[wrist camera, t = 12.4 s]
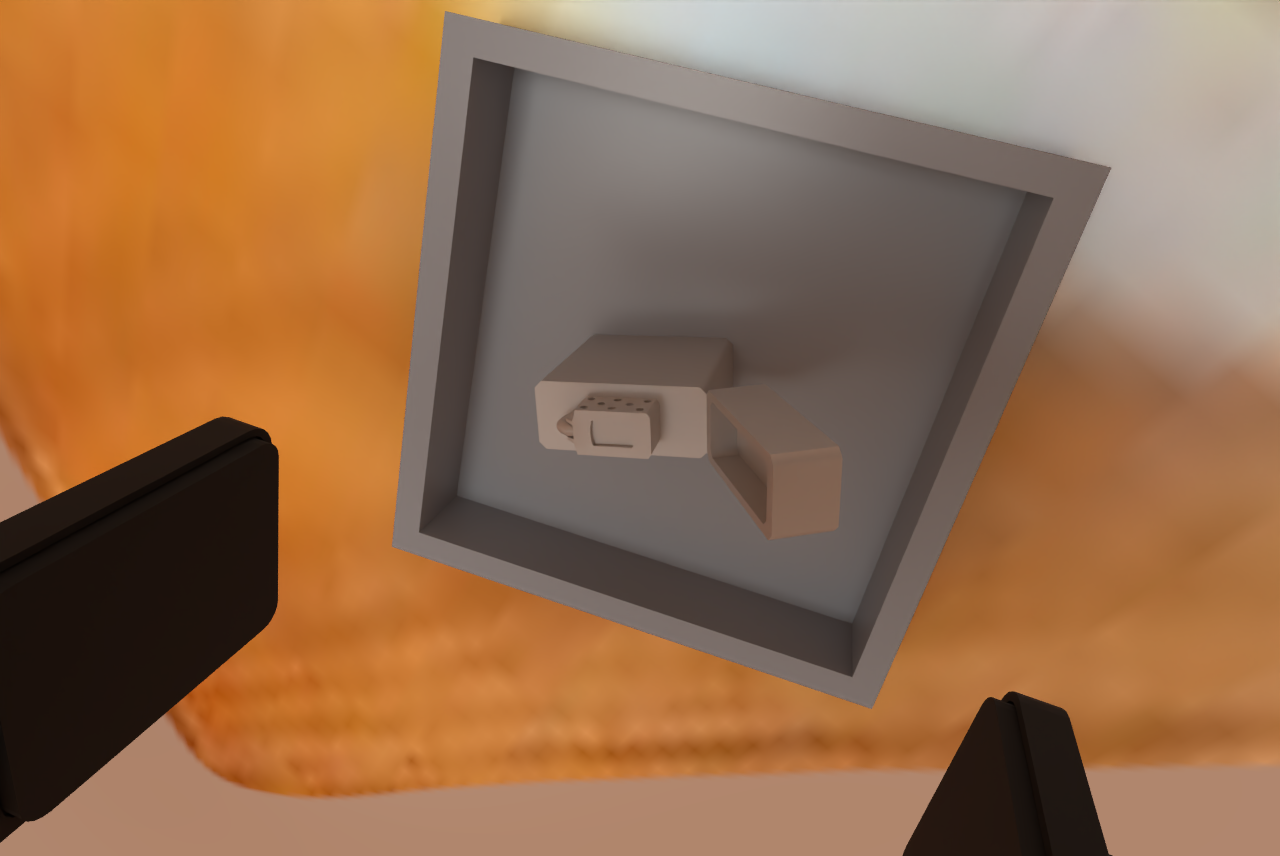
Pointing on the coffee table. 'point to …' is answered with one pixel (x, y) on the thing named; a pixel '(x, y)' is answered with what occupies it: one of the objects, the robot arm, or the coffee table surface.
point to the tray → (715, 308)
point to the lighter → (694, 424)
